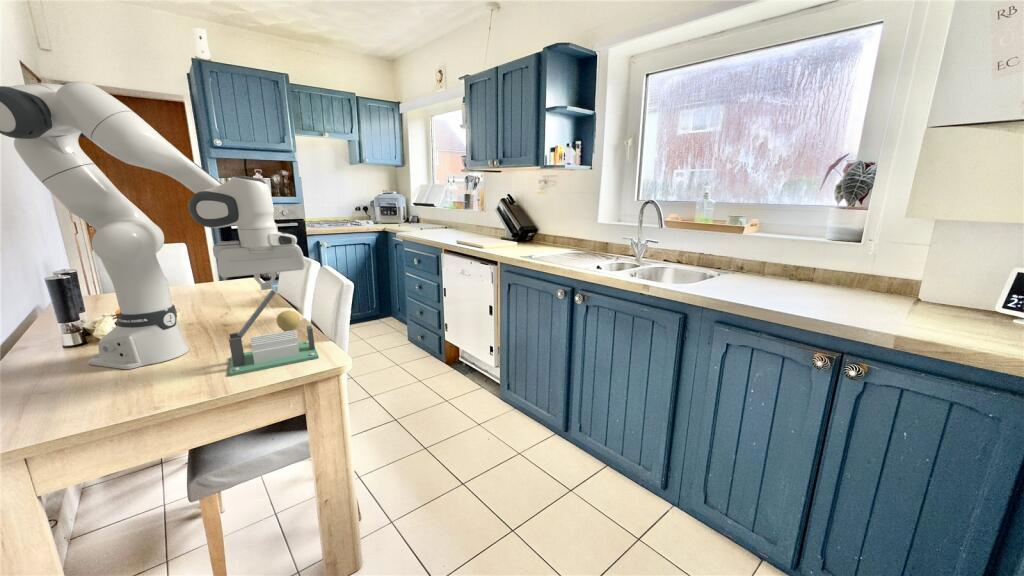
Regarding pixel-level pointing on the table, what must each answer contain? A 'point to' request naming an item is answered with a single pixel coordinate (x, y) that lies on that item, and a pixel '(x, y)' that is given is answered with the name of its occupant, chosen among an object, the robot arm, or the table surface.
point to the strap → (256, 314)
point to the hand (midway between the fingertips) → (267, 289)
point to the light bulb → (288, 321)
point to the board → (273, 363)
